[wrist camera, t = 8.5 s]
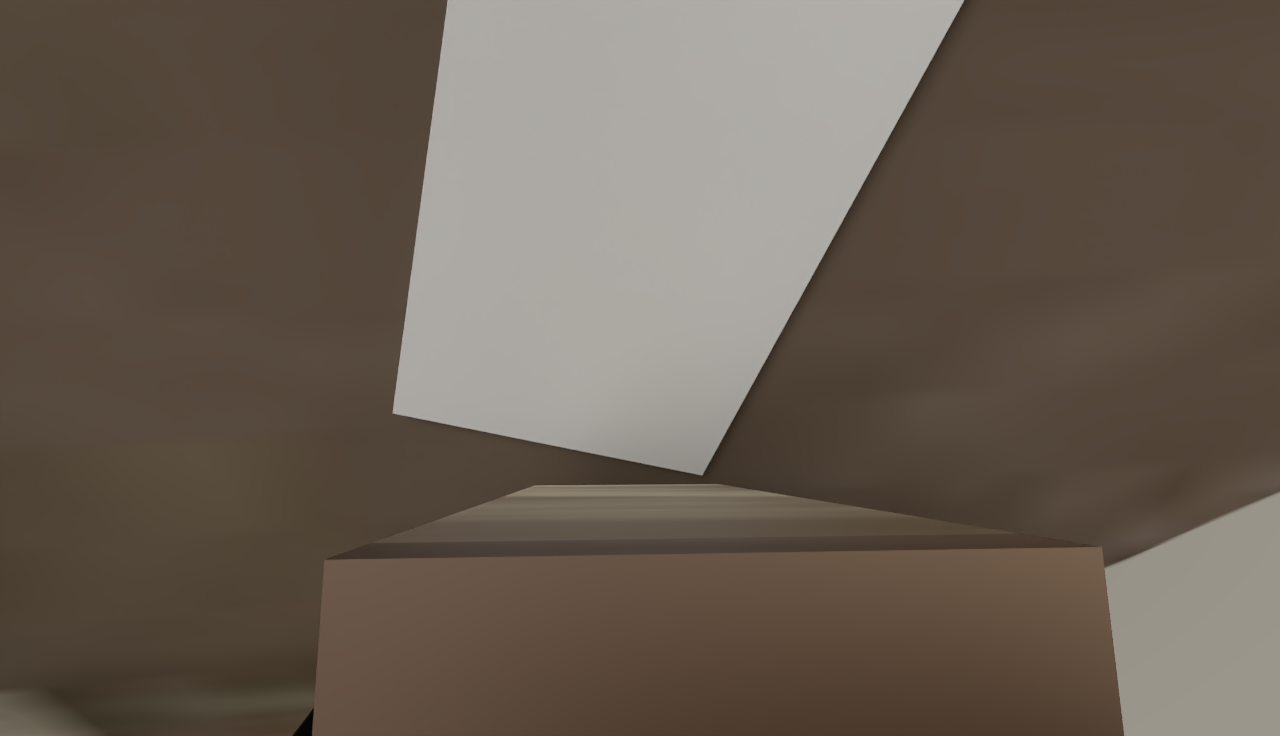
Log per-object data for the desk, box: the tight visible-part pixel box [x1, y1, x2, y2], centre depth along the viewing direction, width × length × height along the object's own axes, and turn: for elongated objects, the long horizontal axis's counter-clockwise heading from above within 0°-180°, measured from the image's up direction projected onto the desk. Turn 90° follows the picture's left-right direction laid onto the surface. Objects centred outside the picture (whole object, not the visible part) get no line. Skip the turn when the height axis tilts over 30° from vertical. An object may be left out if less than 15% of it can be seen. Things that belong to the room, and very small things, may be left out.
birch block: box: [312, 484, 1124, 736], centre depth 10 cm, size 4×5×13 cm
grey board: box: [393, 0, 964, 475], centre depth 15 cm, size 16×10×1 cm, turn 161°
